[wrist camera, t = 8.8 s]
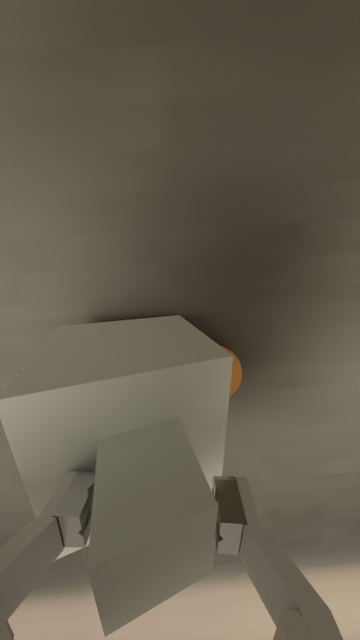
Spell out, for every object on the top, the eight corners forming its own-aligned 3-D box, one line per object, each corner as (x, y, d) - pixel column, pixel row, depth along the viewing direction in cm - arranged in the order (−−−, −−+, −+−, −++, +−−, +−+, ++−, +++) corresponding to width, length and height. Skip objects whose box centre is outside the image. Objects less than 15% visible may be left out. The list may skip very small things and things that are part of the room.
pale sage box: (58, 326, 15) (-148, 563, 3) (179, 315, 18) (302, 408, 6) (78, 427, 18) (14, 741, 6) (179, 401, 21) (263, 573, 9)
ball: (196, 329, 18) (225, 352, 14) (229, 346, 21) (263, 370, 16) (171, 372, 19) (192, 406, 14) (207, 383, 21) (234, 416, 17)
